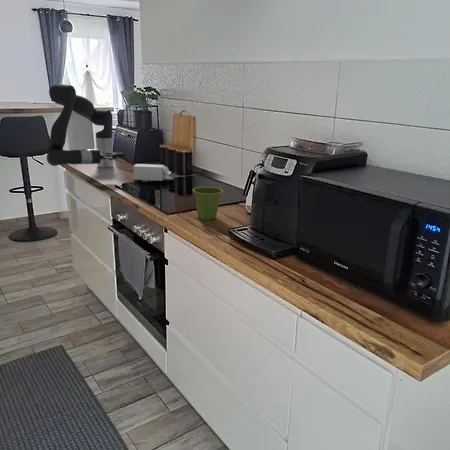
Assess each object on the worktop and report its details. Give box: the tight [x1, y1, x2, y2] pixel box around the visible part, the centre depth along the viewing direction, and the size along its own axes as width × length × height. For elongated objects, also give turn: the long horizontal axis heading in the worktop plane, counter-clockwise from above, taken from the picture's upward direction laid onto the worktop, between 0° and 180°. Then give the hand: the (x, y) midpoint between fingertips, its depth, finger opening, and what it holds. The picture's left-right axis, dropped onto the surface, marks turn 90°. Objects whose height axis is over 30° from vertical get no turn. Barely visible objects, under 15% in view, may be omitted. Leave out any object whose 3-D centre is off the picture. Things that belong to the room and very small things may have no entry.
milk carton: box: [133, 163, 172, 182], centre depth 233 cm, size 7×7×19 cm
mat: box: [141, 175, 175, 183], centre depth 240 cm, size 15×17×1 cm
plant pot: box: [192, 186, 224, 221], centre depth 173 cm, size 12×12×11 cm
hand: (123, 154), depth 229 cm, fingers closed
